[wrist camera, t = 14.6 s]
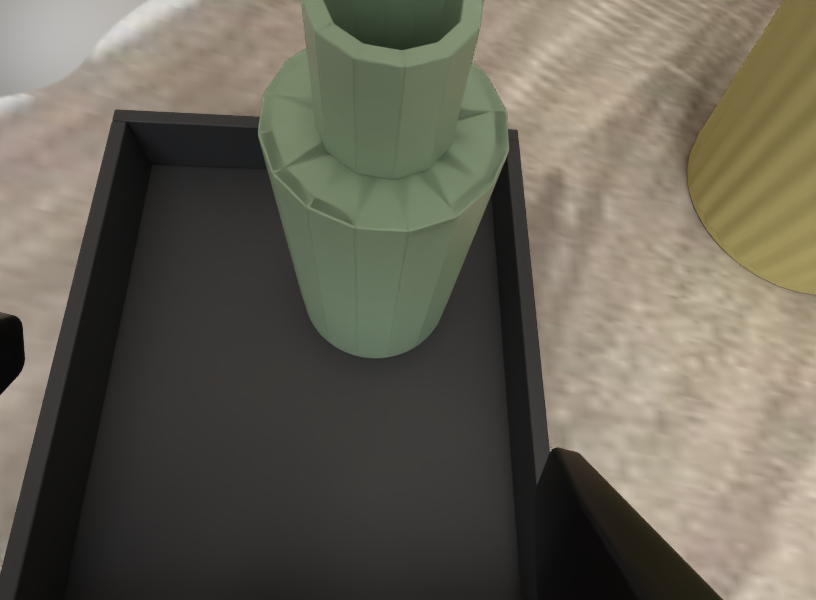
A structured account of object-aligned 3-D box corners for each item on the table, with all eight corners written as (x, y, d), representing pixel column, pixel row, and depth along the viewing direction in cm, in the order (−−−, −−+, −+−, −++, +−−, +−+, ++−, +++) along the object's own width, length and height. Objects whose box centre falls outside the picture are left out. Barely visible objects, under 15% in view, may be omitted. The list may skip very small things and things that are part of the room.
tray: (539, 675, 19) (576, 709, 16) (33, 691, 18) (-40, 730, 15) (499, 175, 27) (517, 128, 24) (145, 159, 26) (114, 108, 22)
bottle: (467, 330, 23) (612, 79, 10) (330, 379, 22) (282, 168, 8) (414, 212, 25) (475, -132, 12) (286, 251, 24) (189, -84, 10)
